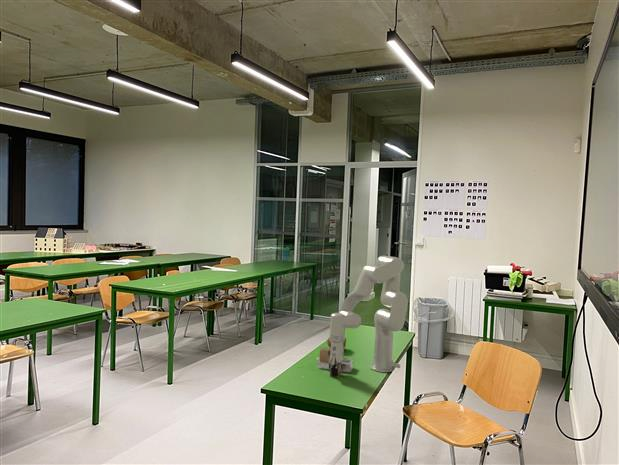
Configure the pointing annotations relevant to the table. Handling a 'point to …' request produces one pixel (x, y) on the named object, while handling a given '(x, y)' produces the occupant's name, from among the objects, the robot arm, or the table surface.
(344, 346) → the decorative rock
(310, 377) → the table surface
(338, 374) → the wood grain cube
